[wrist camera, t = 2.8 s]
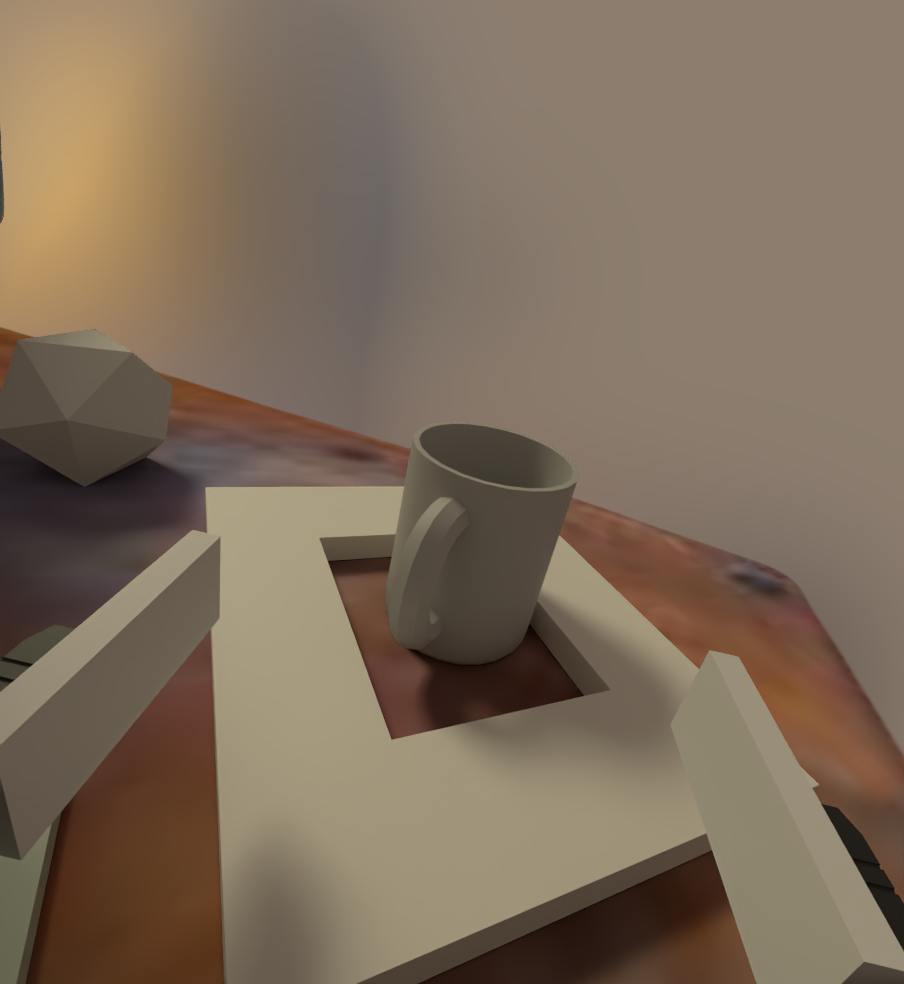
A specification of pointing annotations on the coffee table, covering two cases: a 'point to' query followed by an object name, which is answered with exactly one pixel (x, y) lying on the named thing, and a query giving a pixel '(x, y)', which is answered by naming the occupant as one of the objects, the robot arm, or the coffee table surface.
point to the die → (83, 404)
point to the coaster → (23, 905)
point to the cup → (474, 540)
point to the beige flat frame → (420, 763)
